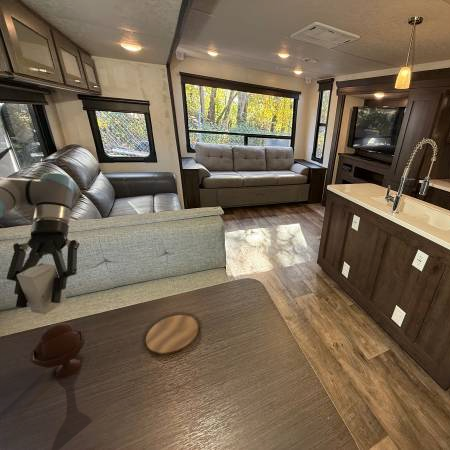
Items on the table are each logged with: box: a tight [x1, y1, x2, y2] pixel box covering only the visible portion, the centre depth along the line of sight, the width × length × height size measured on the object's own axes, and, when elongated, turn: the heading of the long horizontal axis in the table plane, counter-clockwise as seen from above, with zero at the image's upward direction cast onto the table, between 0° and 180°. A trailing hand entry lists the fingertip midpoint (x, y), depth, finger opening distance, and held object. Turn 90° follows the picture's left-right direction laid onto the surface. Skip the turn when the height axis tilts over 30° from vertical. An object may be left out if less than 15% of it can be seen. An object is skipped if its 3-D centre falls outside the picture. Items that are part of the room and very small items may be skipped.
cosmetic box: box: [17, 262, 67, 315], centre depth 67 cm, size 6×4×12 cm
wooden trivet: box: [145, 314, 199, 355], centre depth 85 cm, size 16×16×1 cm
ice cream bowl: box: [30, 322, 86, 379], centre depth 68 cm, size 11×11×15 cm
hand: (38, 304), depth 65 cm, fingers closed on cosmetic box, 6 cm apart
